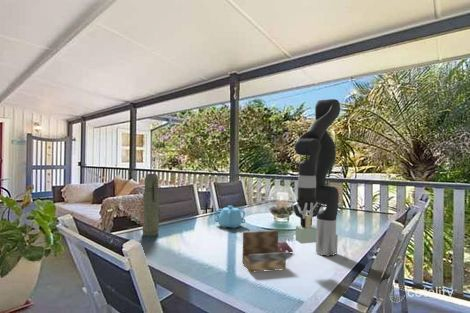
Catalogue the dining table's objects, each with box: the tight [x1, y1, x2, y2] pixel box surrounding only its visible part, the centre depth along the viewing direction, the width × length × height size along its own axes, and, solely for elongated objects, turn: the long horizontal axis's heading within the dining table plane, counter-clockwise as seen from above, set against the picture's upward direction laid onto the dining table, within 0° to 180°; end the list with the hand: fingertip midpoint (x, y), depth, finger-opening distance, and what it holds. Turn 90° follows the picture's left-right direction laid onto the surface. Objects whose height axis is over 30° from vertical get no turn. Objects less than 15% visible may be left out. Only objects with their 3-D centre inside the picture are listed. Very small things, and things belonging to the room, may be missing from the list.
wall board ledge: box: [241, 229, 287, 273], centre depth 130 cm, size 16×10×14 cm, turn 105°
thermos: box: [142, 173, 160, 238], centre depth 174 cm, size 9×12×35 cm
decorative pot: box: [214, 205, 246, 229], centre depth 198 cm, size 16×16×14 cm
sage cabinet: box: [295, 213, 317, 244], centre depth 128 cm, size 7×5×11 cm
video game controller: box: [278, 241, 294, 253], centre depth 146 cm, size 10×5×7 cm, turn 141°
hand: (306, 226), depth 128 cm, fingers closed on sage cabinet
